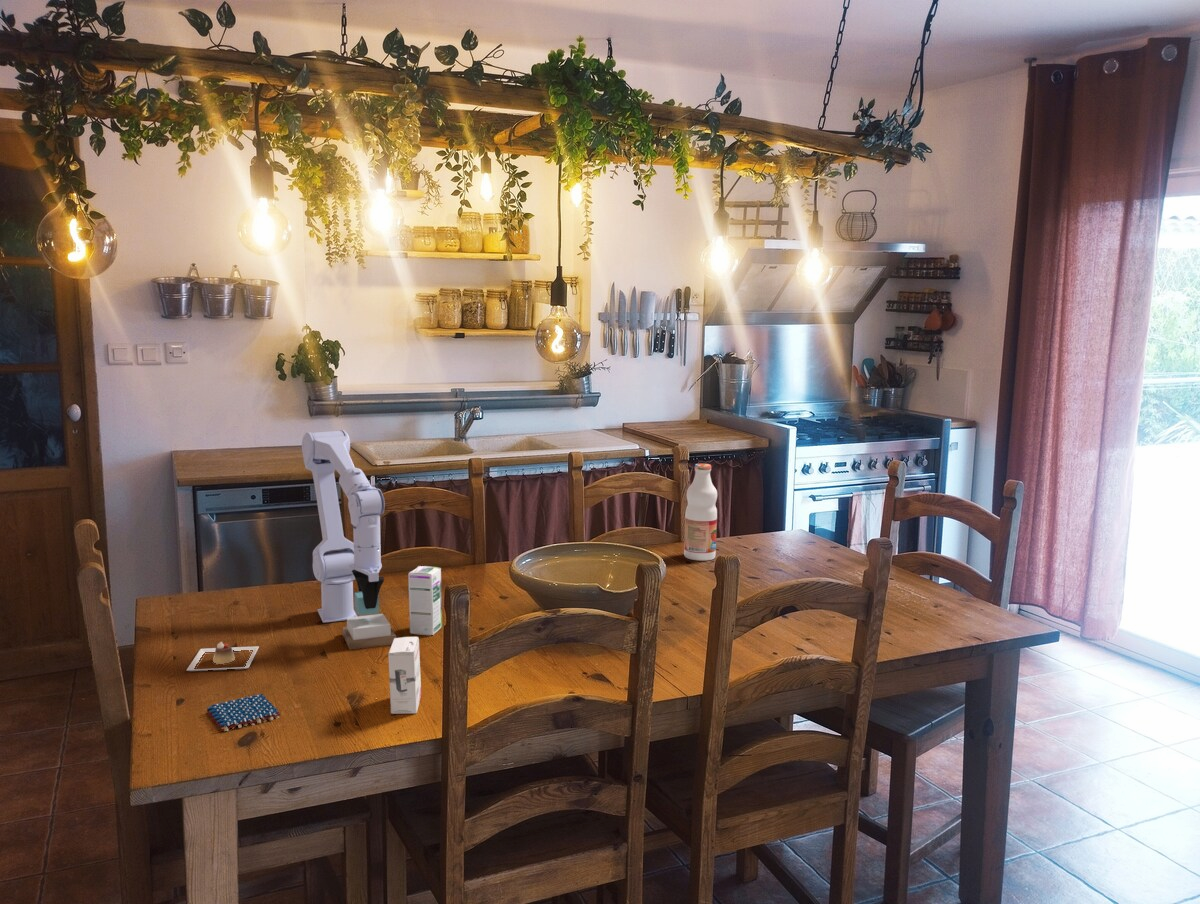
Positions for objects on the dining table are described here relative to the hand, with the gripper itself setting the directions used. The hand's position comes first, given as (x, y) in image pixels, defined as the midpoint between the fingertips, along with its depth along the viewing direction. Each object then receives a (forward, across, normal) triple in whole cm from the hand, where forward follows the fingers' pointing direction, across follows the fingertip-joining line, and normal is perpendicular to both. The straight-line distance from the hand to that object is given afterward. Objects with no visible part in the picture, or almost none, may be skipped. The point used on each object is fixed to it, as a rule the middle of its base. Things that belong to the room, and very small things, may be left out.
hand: (368, 604), depth 211 cm
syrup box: (+8, -1, +13) cm, 15 cm away
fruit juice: (+8, -35, +104) cm, 110 cm away
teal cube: (+2, 0, 0) cm, 2 cm away
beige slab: (+9, 0, 0) cm, 9 cm away
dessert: (+9, +2, -30) cm, 31 cm away
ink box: (+8, +37, 0) cm, 38 cm away
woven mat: (+9, +31, -28) cm, 43 cm away
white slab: (+6, 0, 0) cm, 6 cm away
